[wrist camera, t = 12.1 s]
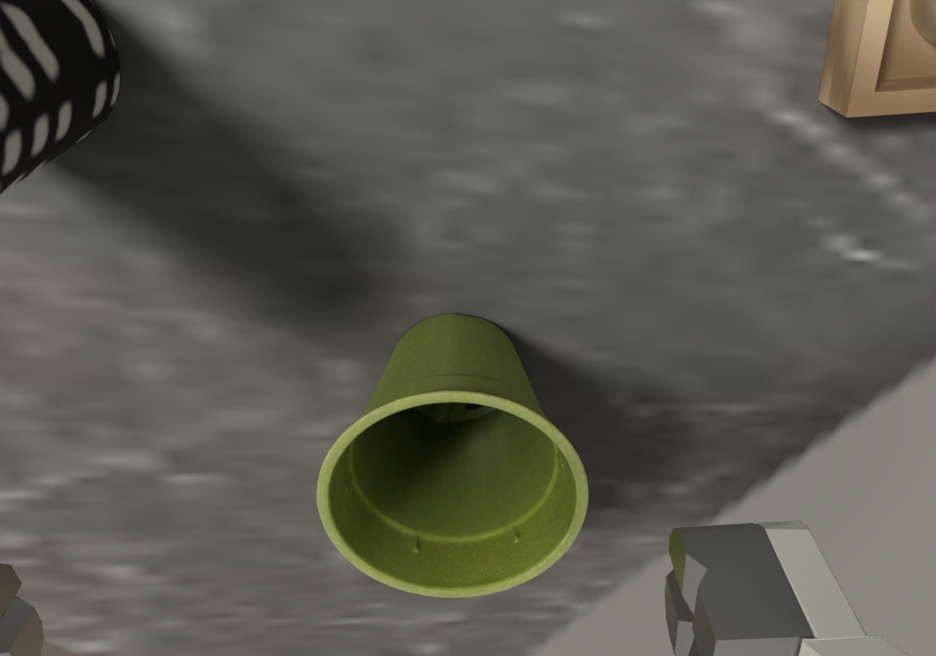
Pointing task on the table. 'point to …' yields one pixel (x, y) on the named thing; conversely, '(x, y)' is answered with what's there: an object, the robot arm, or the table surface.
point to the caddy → (877, 61)
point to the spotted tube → (51, 80)
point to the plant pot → (453, 469)
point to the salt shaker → (924, 18)
